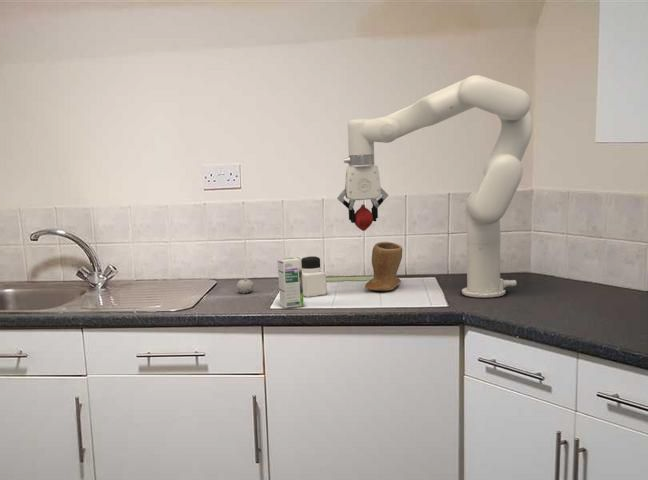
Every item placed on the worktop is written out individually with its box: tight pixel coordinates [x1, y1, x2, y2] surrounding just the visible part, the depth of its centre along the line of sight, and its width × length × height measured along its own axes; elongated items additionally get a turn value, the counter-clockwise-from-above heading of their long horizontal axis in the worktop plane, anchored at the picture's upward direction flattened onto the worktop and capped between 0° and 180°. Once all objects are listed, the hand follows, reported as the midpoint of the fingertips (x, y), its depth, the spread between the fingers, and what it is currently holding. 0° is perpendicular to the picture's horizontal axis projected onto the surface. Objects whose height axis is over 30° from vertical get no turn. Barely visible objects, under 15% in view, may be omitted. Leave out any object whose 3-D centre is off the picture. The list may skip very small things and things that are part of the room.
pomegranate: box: [353, 203, 374, 232], centre depth 229 cm, size 6×6×8 cm
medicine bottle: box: [300, 255, 328, 298], centre depth 242 cm, size 7×7×12 cm
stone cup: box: [364, 241, 403, 292], centre depth 243 cm, size 15×12×15 cm
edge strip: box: [326, 275, 374, 282], centre depth 264 cm, size 20×6×1 cm, turn 81°
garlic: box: [236, 277, 254, 295], centre depth 250 cm, size 6×5×5 cm
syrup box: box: [277, 256, 305, 309], centre depth 226 cm, size 6×6×14 cm
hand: (363, 221), depth 230 cm, fingers closed on pomegranate, 5 cm apart
